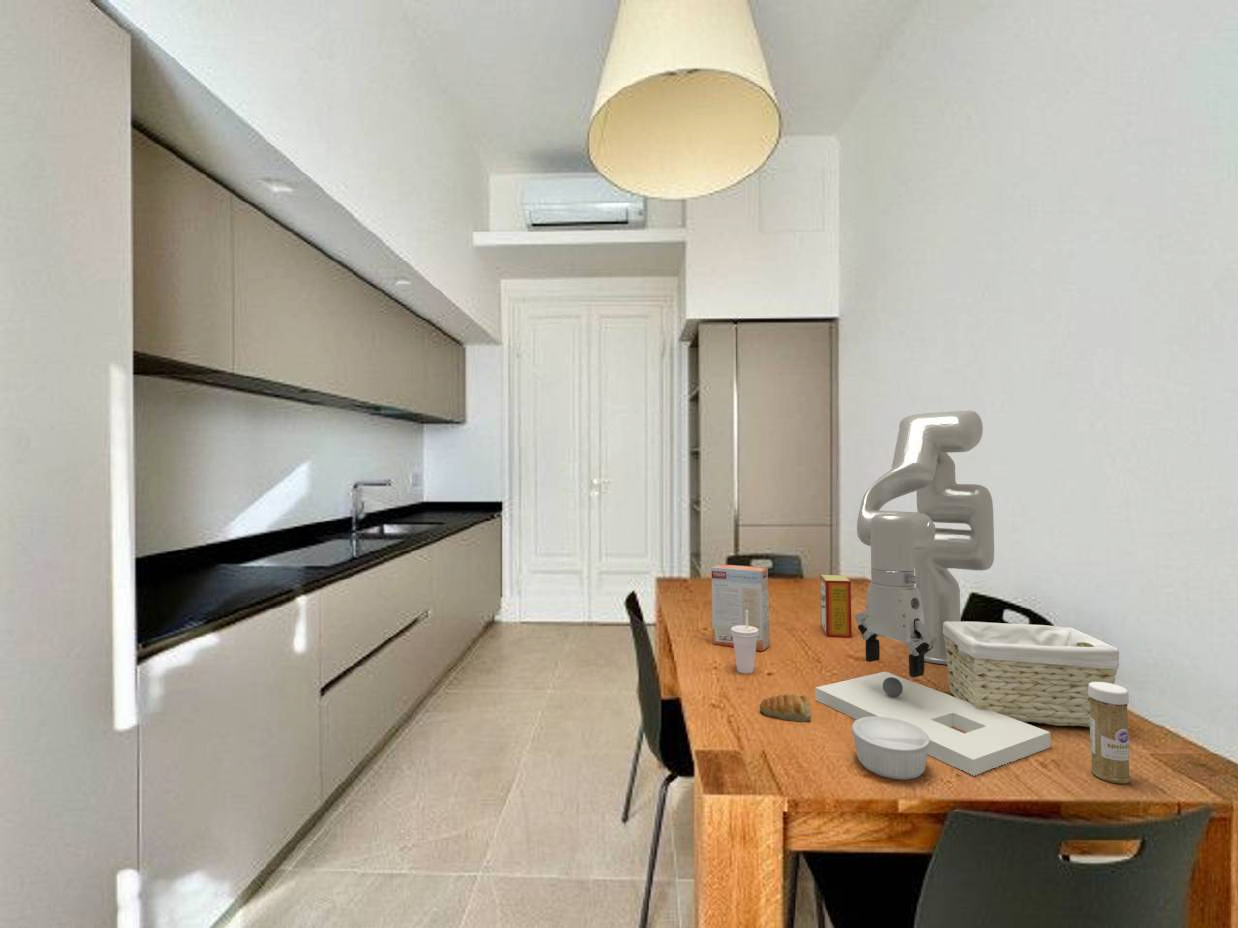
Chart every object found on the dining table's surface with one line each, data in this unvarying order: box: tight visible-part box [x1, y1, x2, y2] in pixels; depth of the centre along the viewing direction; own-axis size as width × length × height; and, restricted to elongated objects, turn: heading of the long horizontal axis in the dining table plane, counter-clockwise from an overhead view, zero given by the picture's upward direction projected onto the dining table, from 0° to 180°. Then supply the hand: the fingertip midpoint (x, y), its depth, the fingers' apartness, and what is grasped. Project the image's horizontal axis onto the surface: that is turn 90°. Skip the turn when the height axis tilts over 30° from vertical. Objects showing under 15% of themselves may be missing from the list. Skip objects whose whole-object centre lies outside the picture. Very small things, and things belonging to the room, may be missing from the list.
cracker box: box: [711, 564, 771, 652], centre depth 150 cm, size 14×6×21 cm, turn 58°
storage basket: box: [943, 620, 1120, 728], centre depth 107 cm, size 24×16×15 cm
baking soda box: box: [819, 574, 852, 639], centre depth 160 cm, size 10×6×16 cm
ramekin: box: [851, 716, 930, 780], centre depth 88 cm, size 11×11×5 cm
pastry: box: [759, 693, 812, 722], centre depth 107 cm, size 9×7×4 cm
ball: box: [883, 677, 903, 697], centre depth 109 cm, size 4×4×4 cm
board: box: [814, 671, 1052, 777], centre depth 103 cm, size 32×20×2 cm, turn 25°
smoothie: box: [731, 610, 759, 674], centre depth 131 cm, size 6×6×14 cm
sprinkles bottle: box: [1088, 682, 1131, 784], centre depth 84 cm, size 5×5×14 cm
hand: (893, 667), depth 108 cm, fingers open, 9 cm apart
